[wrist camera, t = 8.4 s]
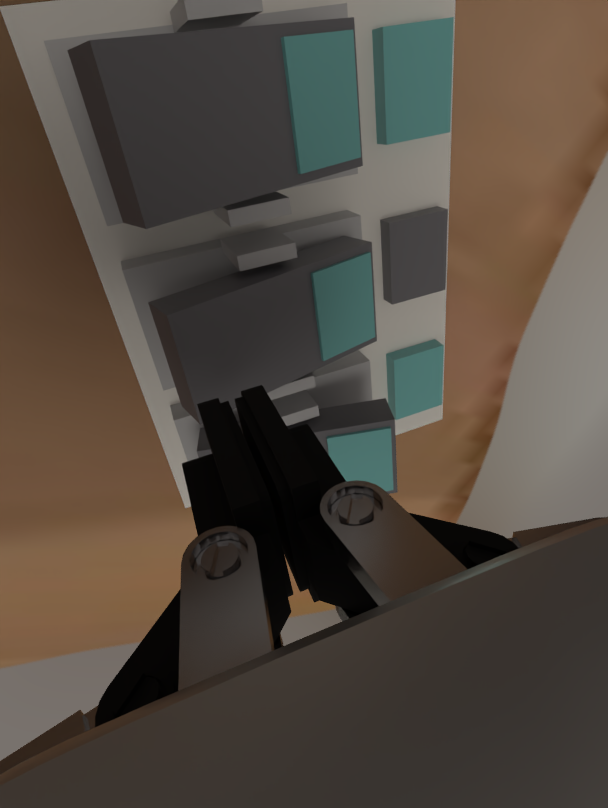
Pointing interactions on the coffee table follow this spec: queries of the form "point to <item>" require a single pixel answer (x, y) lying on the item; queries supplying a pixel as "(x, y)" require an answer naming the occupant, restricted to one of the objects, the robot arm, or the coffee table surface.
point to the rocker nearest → (220, 113)
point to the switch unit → (275, 199)
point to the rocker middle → (268, 322)
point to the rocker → (352, 441)
